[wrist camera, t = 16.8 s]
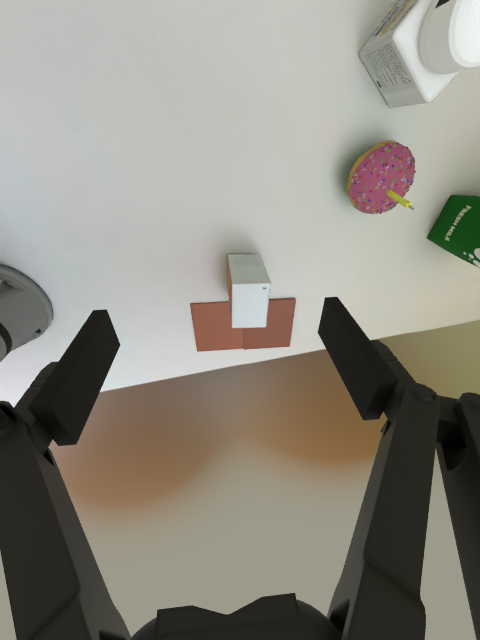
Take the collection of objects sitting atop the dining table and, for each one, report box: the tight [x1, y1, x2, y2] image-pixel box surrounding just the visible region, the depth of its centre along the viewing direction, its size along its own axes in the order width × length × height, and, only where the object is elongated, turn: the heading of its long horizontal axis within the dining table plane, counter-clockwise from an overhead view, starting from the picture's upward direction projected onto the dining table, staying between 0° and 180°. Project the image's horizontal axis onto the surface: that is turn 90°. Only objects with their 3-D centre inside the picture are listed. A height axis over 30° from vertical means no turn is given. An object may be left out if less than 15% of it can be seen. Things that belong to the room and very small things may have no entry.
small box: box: [228, 254, 271, 328], centre depth 42 cm, size 8×6×10 cm
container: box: [359, 0, 480, 108], centre depth 25 cm, size 8×8×13 cm
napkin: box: [190, 298, 296, 352], centre depth 52 cm, size 20×12×1 cm, turn 91°
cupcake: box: [346, 141, 416, 214], centre depth 33 cm, size 9×8×12 cm
